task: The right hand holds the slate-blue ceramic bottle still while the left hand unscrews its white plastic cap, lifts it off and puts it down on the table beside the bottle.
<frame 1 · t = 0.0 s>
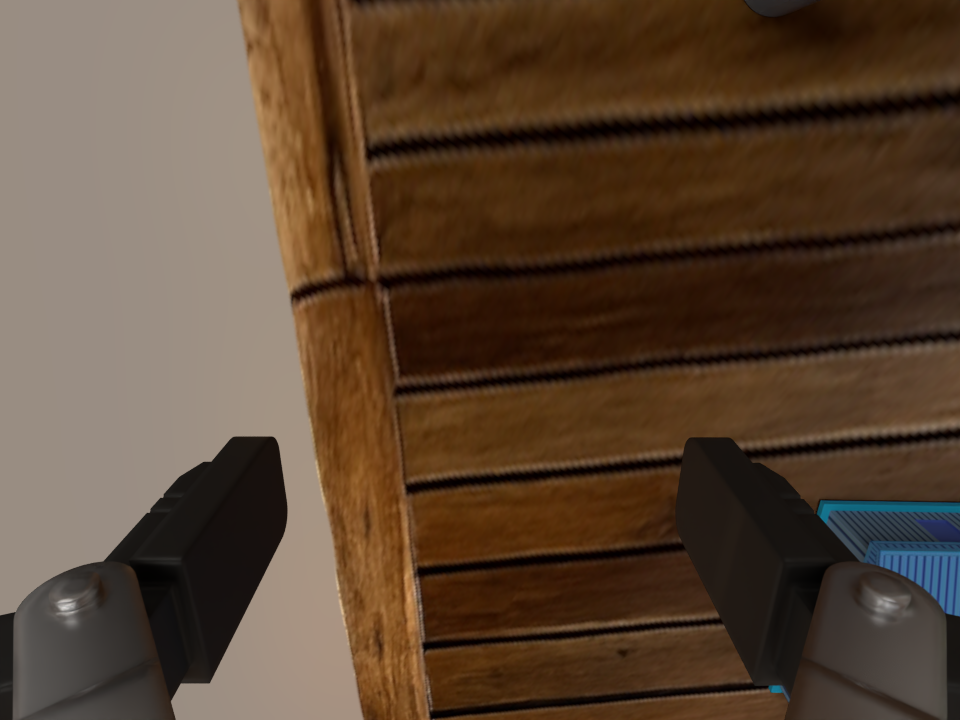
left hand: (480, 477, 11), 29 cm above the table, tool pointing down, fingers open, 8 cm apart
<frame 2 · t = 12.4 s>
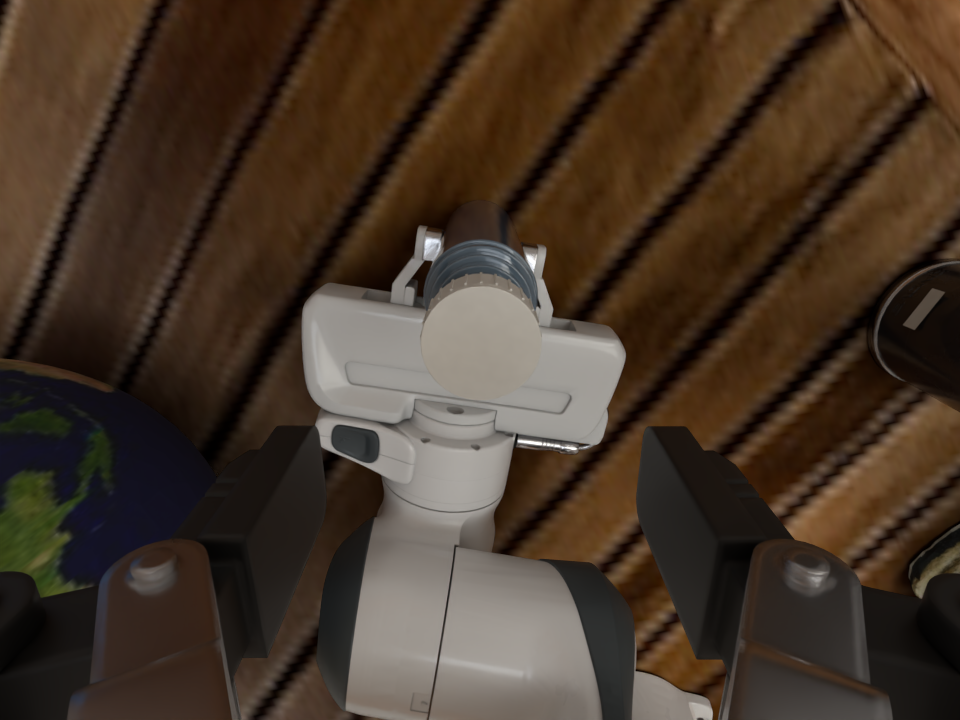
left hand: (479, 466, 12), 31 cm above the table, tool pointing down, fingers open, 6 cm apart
right hand: (481, 236, 34), fingers closed on bottle, 5 cm apart
cap: (481, 342, 19), point 23 cm above the table, screwed on, not yet turned
bottle: (480, 235, 40), on the table, touching right hand
globe: (119, 472, 47), on the table
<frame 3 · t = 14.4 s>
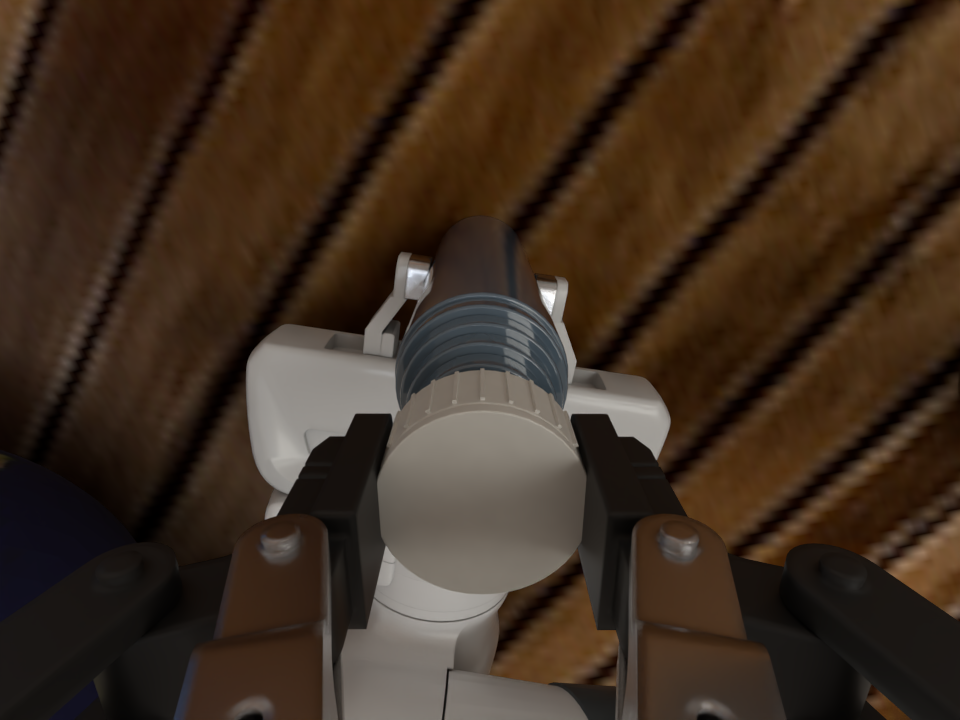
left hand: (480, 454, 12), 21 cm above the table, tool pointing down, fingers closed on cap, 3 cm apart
cap: (482, 499, 11), point 23 cm above the table, screwed on, not yet turned, touching left hand
bottle: (480, 260, 32), on the table, touching right hand
globe: (43, 542, 39), on the table
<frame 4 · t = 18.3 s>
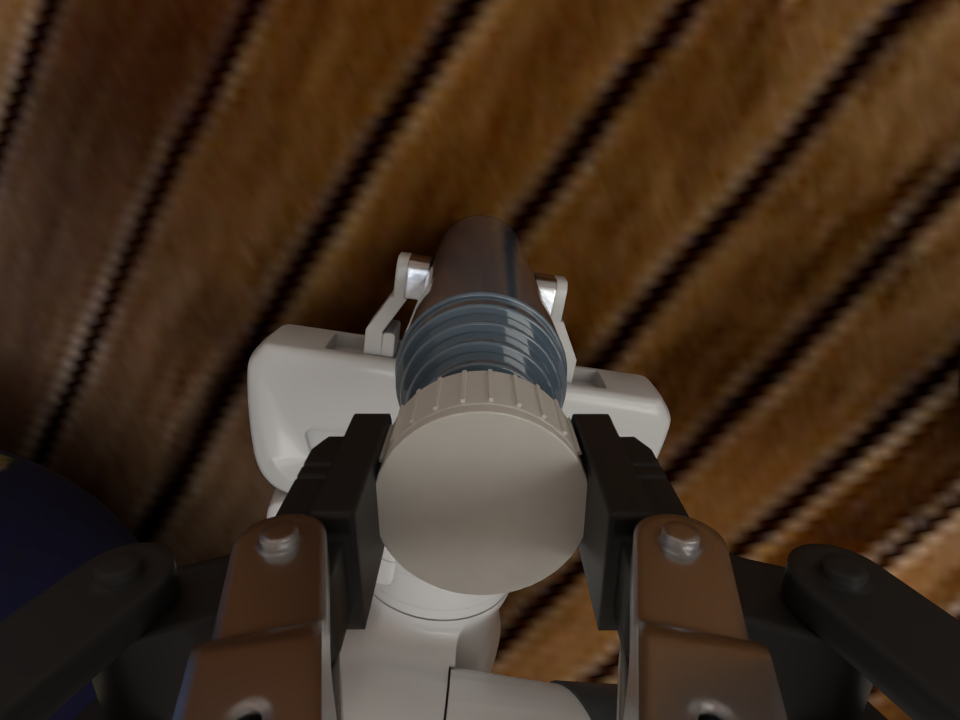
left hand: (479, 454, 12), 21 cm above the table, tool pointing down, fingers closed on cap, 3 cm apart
cap: (481, 500, 11), point 23 cm above the table, turned 96° so far, risen 0.1 cm, still on its thread, touching left hand
bottle: (480, 259, 32), on the table, touching right hand
globe: (46, 542, 39), on the table
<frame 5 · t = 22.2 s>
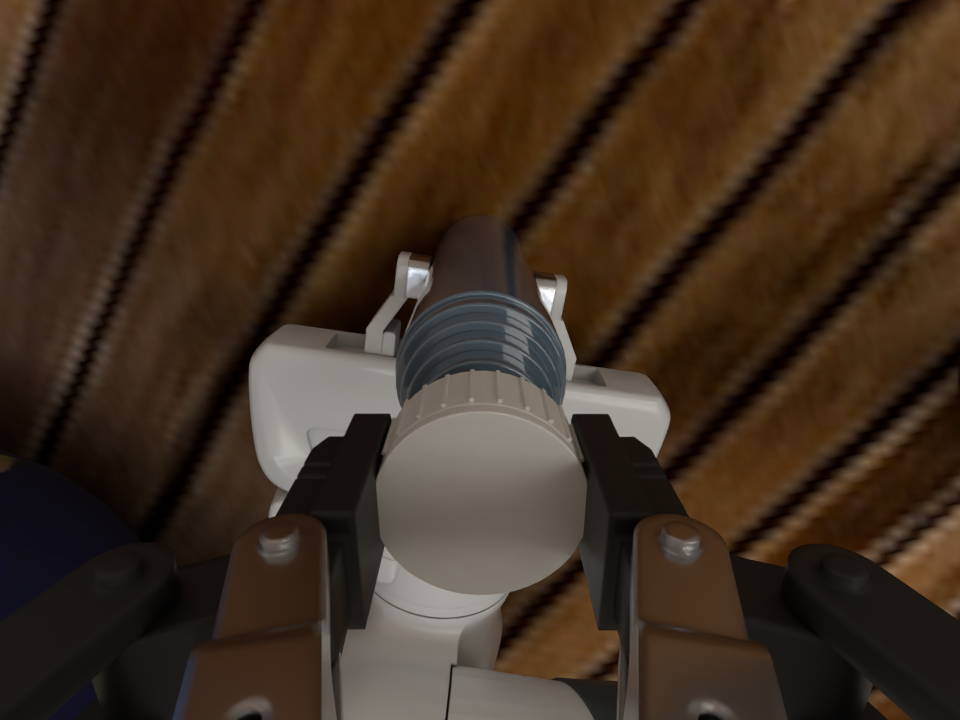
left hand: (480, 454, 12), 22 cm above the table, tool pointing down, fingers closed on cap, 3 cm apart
cap: (481, 500, 11), point 23 cm above the table, turned 191° so far, risen 0.2 cm, still on its thread, touching left hand
bottle: (480, 259, 32), on the table, touching right hand
globe: (49, 543, 39), on the table
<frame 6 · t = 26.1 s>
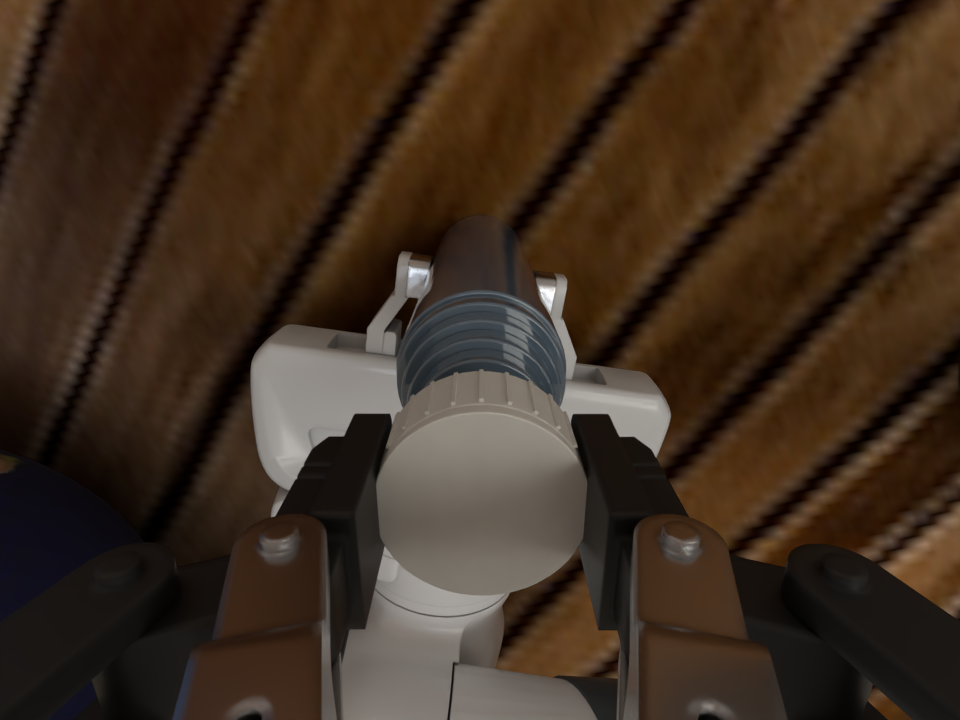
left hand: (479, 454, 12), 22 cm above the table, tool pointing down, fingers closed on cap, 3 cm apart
cap: (481, 500, 11), point 23 cm above the table, turned 287° so far, risen 0.3 cm, still on its thread, touching left hand
bottle: (480, 258, 32), on the table, touching right hand
globe: (52, 543, 39), on the table
when the left hand's fingers open (1 cm above the table, at t = 37.0 s): cap drops 1 cm, point 2 cm above the table.
when the right hand's fingers open (6 cm above the table, at t = 38.1 s): bottle stays where it is, on the table.
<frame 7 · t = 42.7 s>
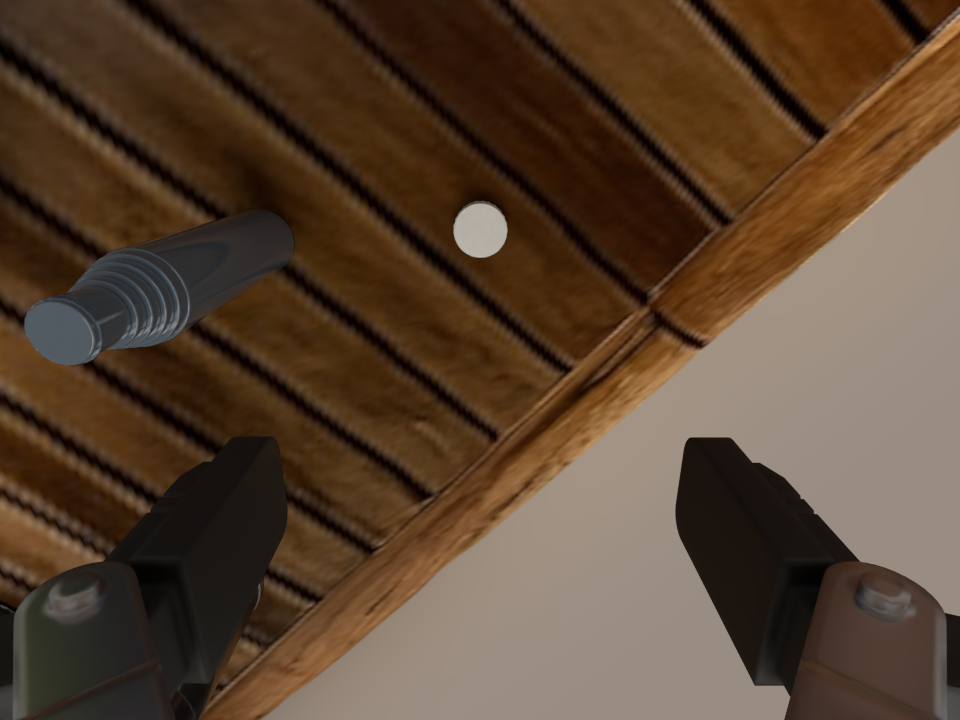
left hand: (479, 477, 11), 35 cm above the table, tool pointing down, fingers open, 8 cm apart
cap: (480, 230, 42), point 2 cm above the table, off its thread
bottle: (262, 241, 44), on the table
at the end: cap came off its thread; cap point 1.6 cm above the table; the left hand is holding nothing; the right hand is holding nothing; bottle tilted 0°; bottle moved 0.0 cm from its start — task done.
